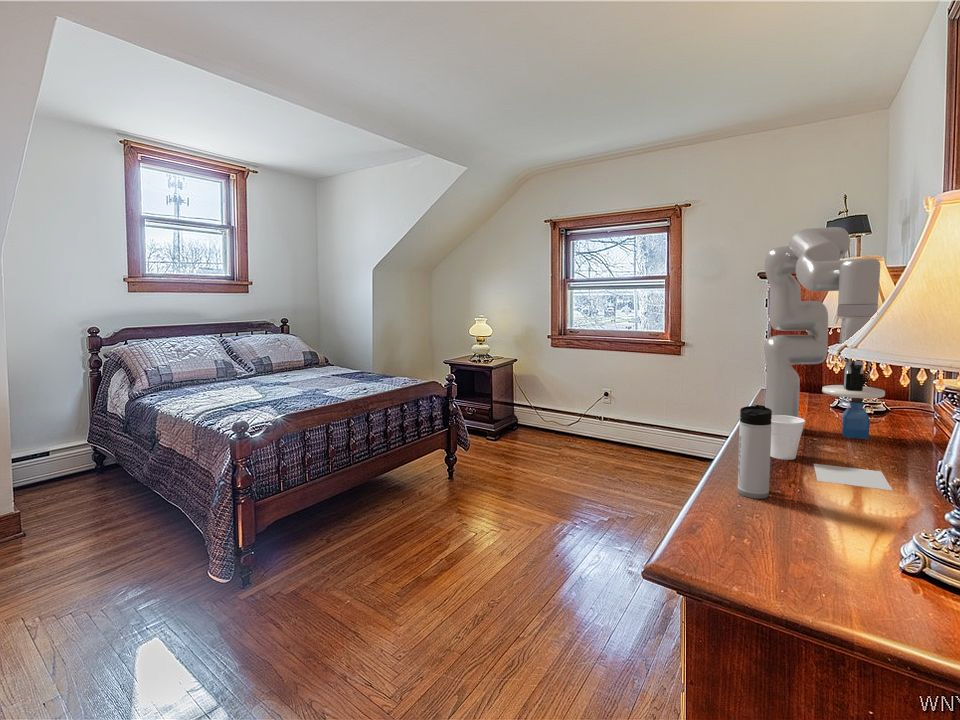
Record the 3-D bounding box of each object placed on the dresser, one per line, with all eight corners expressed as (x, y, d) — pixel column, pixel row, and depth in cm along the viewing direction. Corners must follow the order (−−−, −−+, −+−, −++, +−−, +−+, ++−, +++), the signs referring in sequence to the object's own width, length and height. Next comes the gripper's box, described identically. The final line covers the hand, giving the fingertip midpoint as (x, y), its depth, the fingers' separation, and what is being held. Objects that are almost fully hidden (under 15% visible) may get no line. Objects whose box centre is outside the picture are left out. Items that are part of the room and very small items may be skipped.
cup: (810, 464, 132) (812, 423, 130) (769, 462, 134) (770, 422, 132) (794, 453, 141) (796, 415, 140) (756, 451, 143) (757, 414, 142)
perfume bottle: (868, 439, 152) (871, 401, 151) (843, 437, 155) (845, 399, 154) (866, 434, 157) (868, 397, 156) (841, 432, 161) (843, 396, 159)
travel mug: (773, 492, 113) (776, 406, 111) (763, 501, 109) (767, 411, 106) (743, 486, 118) (746, 403, 115) (733, 494, 113) (735, 408, 111)
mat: (813, 465, 131) (813, 463, 130) (881, 473, 123) (881, 471, 123) (817, 482, 119) (817, 480, 118) (892, 492, 111) (892, 490, 111)
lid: (820, 387, 127) (821, 364, 127) (879, 390, 121) (880, 366, 121) (824, 396, 117) (826, 370, 116) (889, 399, 111) (891, 373, 110)
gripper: (833, 311, 126) (830, 382, 128) (841, 313, 112) (837, 393, 114) (871, 310, 122) (866, 384, 124) (884, 313, 108) (878, 396, 110)
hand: (852, 388), depth 119 cm, fingers closed on lid, 3 cm apart
